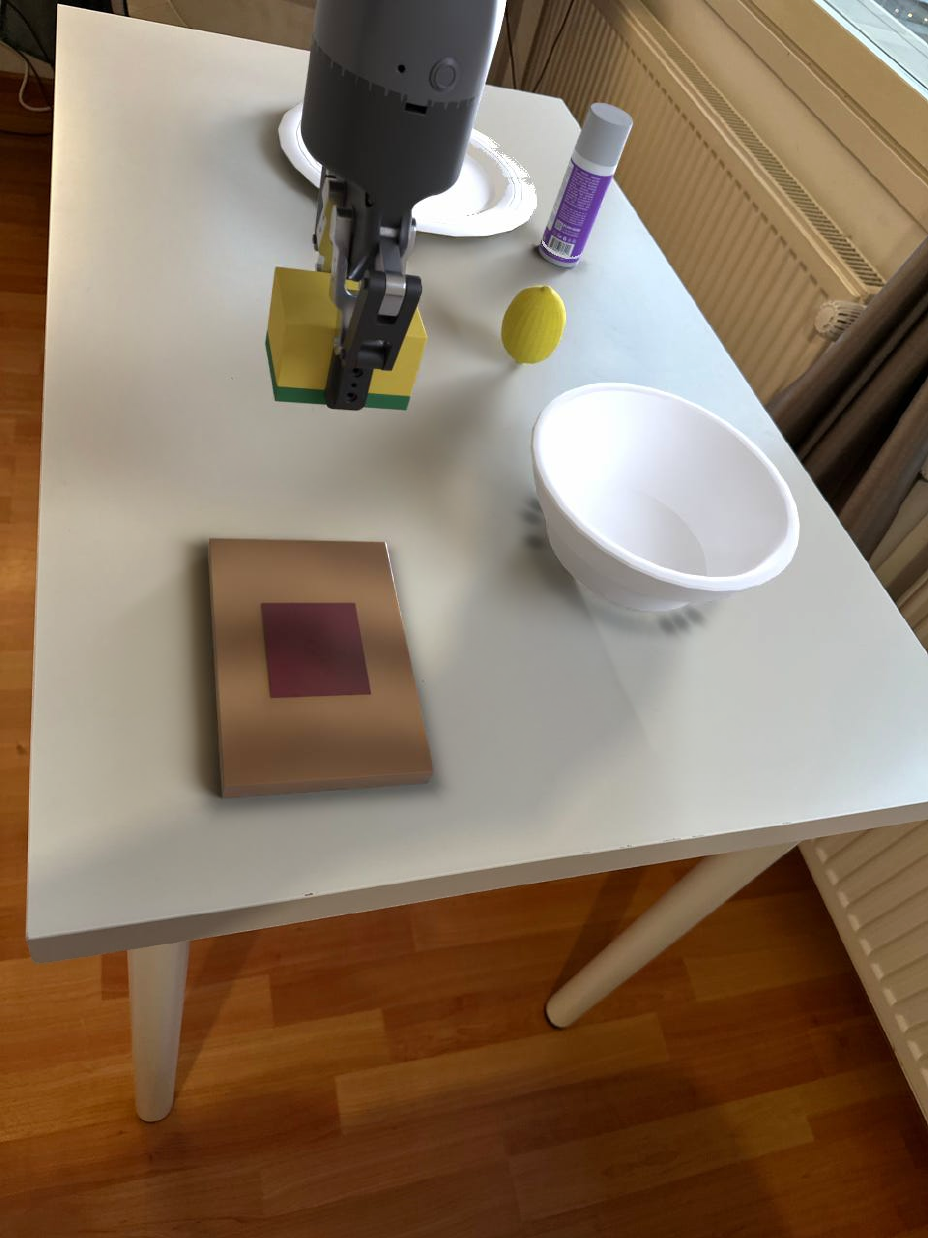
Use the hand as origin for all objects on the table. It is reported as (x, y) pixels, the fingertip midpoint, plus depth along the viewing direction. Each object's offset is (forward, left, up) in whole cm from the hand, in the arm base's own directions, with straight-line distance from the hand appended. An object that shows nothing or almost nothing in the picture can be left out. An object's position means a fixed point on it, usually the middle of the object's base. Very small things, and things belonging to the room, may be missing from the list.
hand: (335, 372), depth 50 cm
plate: (+18, +55, -15) cm, 60 cm away
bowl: (+26, 0, -15) cm, 30 cm away
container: (+33, +43, -15) cm, 56 cm away
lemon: (+23, +23, -15) cm, 36 cm away
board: (0, -10, -15) cm, 18 cm away
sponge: (0, 0, 0) cm, 0 cm away
